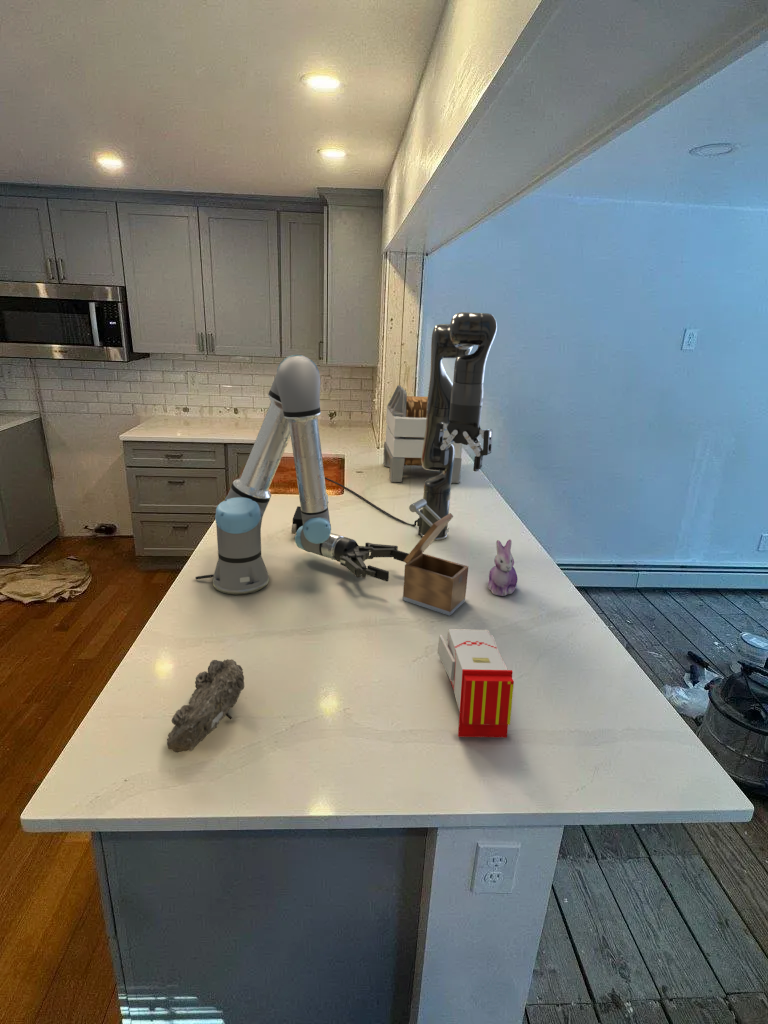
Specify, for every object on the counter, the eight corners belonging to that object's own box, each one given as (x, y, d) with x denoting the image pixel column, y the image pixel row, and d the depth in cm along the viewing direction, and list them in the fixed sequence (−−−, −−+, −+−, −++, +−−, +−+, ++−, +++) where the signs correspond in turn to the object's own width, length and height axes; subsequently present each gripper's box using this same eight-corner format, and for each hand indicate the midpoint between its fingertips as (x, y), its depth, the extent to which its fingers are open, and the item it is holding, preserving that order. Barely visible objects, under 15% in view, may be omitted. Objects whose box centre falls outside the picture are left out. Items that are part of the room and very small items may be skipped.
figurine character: (310, 544, 191) (314, 524, 204) (310, 524, 187) (314, 505, 201) (290, 544, 190) (296, 523, 204) (290, 524, 187) (295, 504, 200)
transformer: (382, 463, 289) (386, 382, 275) (445, 464, 293) (451, 384, 279) (390, 482, 257) (394, 392, 243) (460, 483, 261) (468, 394, 247)
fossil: (192, 660, 117) (244, 628, 112) (224, 691, 120) (276, 661, 115) (142, 746, 98) (202, 712, 93) (182, 779, 101) (242, 748, 96)
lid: (453, 516, 150) (428, 492, 152) (437, 526, 142) (410, 501, 145) (423, 552, 158) (399, 529, 161) (406, 564, 151) (382, 539, 153)
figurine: (500, 600, 157) (506, 550, 151) (478, 584, 165) (483, 536, 160) (526, 593, 161) (533, 545, 156) (503, 578, 169) (509, 532, 164)
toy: (488, 613, 130) (523, 677, 101) (484, 667, 133) (517, 744, 104) (435, 612, 130) (455, 676, 101) (432, 666, 133) (451, 743, 103)
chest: (465, 601, 156) (468, 566, 152) (449, 615, 148) (453, 579, 144) (419, 586, 162) (421, 553, 159) (402, 600, 155) (404, 564, 151)
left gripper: (364, 547, 180) (422, 565, 169) (313, 574, 160) (375, 597, 149) (364, 525, 177) (424, 541, 167) (313, 550, 158) (376, 571, 147)
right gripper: (432, 399, 135) (427, 465, 140) (488, 407, 128) (481, 476, 134) (446, 396, 141) (441, 459, 146) (500, 403, 134) (493, 469, 140)
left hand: (401, 568), depth 158 cm, fingers open, 13 cm apart
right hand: (460, 467), depth 140 cm, fingers open, 8 cm apart
